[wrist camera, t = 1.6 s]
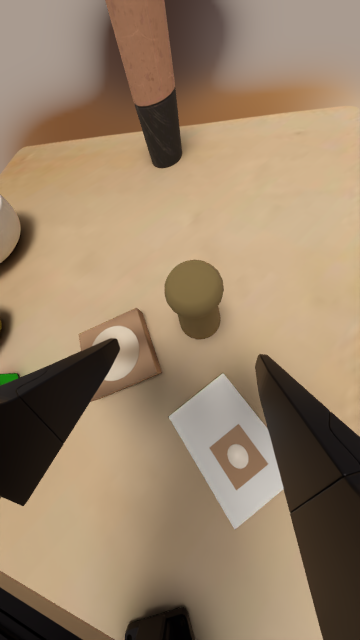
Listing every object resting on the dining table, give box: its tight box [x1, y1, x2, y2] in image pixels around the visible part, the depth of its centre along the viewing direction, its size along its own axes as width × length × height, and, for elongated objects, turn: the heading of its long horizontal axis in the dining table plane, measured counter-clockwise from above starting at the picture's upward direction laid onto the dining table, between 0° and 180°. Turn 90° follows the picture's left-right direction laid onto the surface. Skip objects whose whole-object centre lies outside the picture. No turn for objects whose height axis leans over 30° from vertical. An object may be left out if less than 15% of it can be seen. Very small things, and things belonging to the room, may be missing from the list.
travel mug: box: [105, 0, 182, 168], centre depth 25 cm, size 8×8×20 cm
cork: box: [165, 260, 224, 339], centre depth 17 cm, size 6×6×11 cm
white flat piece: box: [169, 373, 284, 529], centre depth 17 cm, size 12×9×1 cm
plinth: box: [79, 308, 162, 402], centre depth 22 cm, size 10×10×2 cm
